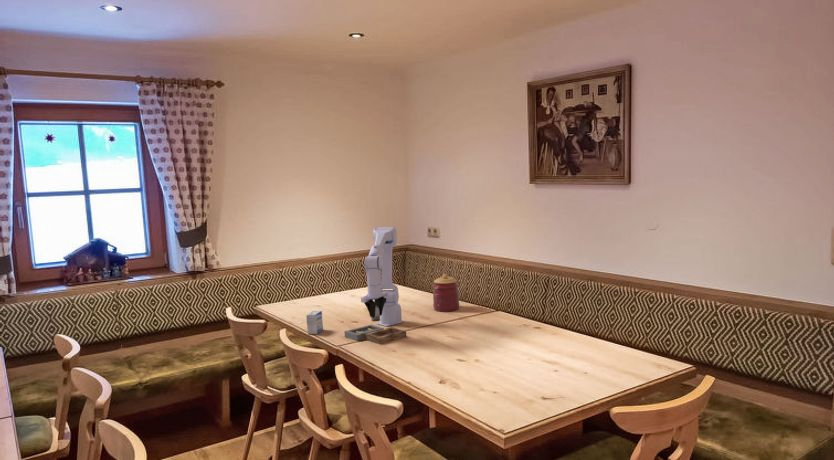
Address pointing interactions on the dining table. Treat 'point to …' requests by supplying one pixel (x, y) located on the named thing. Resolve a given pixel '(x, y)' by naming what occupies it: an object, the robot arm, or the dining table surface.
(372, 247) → the robot arm
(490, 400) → the dining table surface
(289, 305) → the dining table surface
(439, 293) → the canister
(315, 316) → the medicine box
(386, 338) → the shallow wooden tray
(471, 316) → the dining table surface
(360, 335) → the grey tray with pegs
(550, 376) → the dining table surface
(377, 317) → the cell
